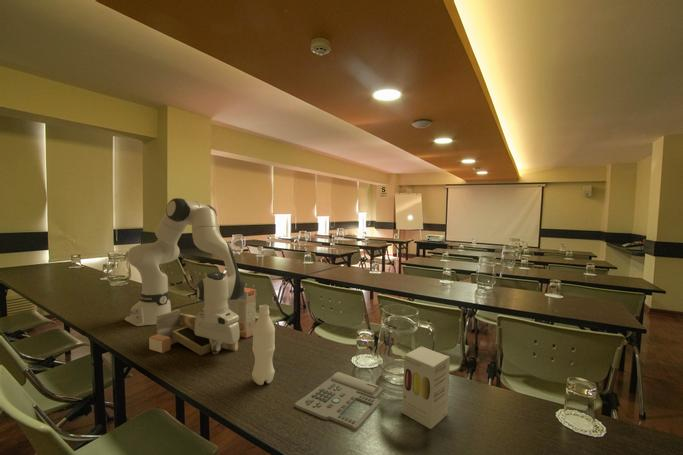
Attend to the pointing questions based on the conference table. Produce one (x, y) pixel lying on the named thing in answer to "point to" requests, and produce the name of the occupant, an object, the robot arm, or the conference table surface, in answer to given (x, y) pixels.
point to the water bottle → (263, 347)
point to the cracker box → (245, 311)
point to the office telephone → (340, 399)
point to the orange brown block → (159, 343)
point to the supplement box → (425, 386)
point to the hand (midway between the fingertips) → (216, 350)
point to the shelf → (180, 326)
